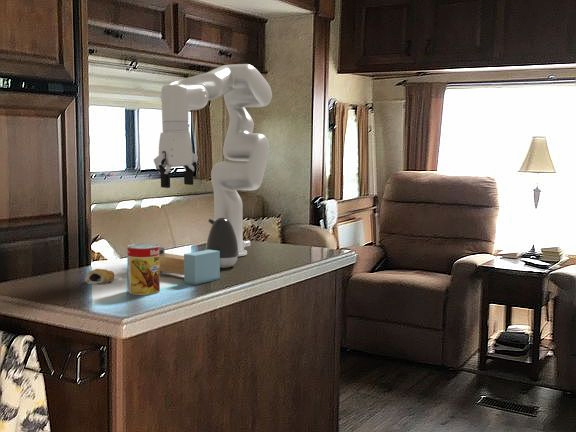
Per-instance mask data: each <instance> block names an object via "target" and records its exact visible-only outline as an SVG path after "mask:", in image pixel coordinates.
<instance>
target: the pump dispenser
mask: <svg viewBox="0 0 576 432" xmlns="http://www.w3.org/2000/svg"><path fill="white" fill-rule="evenodd" d="M208 223H210V224H211V227H210V229H209V233H208V235H207V240H206V245H205V250H216V251H220V269H228V268H231V267H233V266H234V265H235V264H236V262H237V261H238V255H239V249H238V242H237V238H236V234H235V231H234V229H233V226H232V224H231V223H230V221H229V220H228V219H226V218H218V219H217V220H215V221H214V219H211V218H209V219H208Z"/></svg>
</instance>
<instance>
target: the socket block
mask: <svg viewBox="0 0 576 432" xmlns="http://www.w3.org/2000/svg"><path fill="white" fill-rule="evenodd" d="M183 256H184V275H183V283H184V284H188V285H193V286H196V285H200V284H201V285H202V284H206V283H210V282H215V281H218V280H220V279H221V275H220V274H221V272H220V271H221V268H220V251H216V250H206V249H204V250H200V251H199V250H198V251H195V252H188V253H184V254H183Z"/></svg>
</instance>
